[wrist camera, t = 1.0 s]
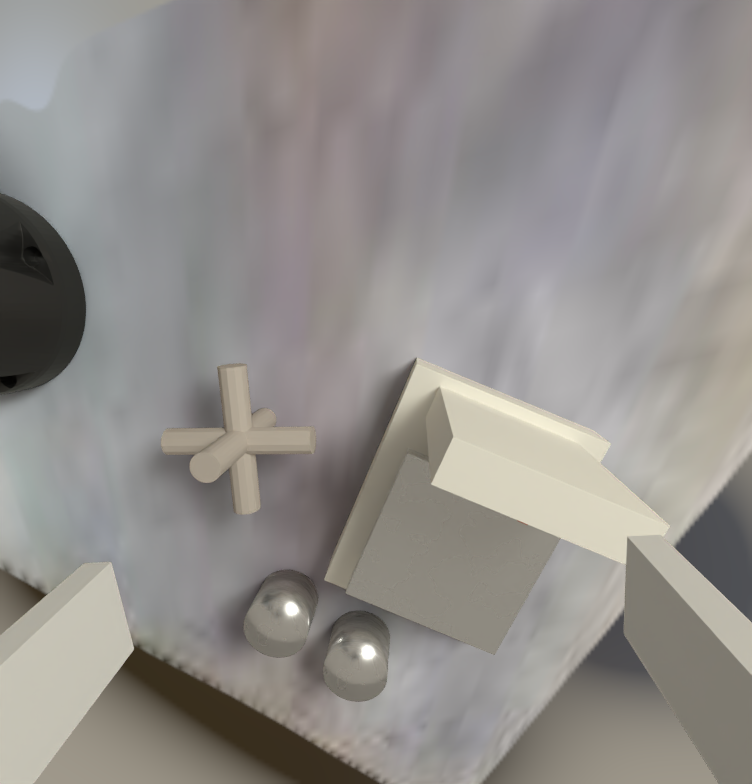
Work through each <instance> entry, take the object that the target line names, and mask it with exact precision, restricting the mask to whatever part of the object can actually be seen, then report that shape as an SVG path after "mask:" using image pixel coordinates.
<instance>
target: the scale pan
mask: <svg viewBox="0 0 752 784" xmlns="http://www.w3.org/2000/svg"><path fill="white" fill-rule="evenodd" d="M560 539H561V538H559V537H557V536H555V535H552V534H550V533H547V532H545V531H542V530H540V529H538V528H535V527H533V526H530V525H525V524H523V523H521V522H518V521H517V520H516V519H513V518H511V517H509V516H506V515H504V514H501V513H499V512H496V511H494V510H492V509H489V508H487V507H484V506H482V505H480V504H477V503H475V502H472V501H470V500H467V499H465V498H463V497H460V496H458V495H455V494H453V493H450V492H448V491H446V490H443V489H441V488H438V487H436V486H434V485H431V479H430V466H429V456H427V455H424V454H422V453H419V452H417V451H414V450H412V449H410V448H408V449H407V451H406V454H405V456H404V458H403V460H402V463H401V465H400V467H399V469H398V472H397V474H396V476H395V478H394V481H393V483H392V485H391V487H390V490H389V492H388V494H387V496H386V499H385V501H384V503H383V505H382V508H381V510H380V512H379V514H378V517H377V519H376V521H375V523H374V526H373V528H372V530H371V532H370V535H369V537H368V539H367V541H366V544H365V546H364V548H363V550H362V553H361V555H360V557H359V559H358V562H357V564H356V566H355V568H354V570H353V573H352V575H351V577H350V579H349V582H348V584H347V588H346V592H345V593H346V594H348V595H351V596H353V597H355V598H358V599H360V600H363V601H365V602H368V603H370V604H372V605H375V606H377V607H380V608H382V609H384V610H387V611H389V612H392V613H394V614H397V615H399V616H401V617H404V618H406V619H409V620H411V621H413V622H416V623H418V624H421V625H423V626H426V627H428V628H430V629H433V630H435V631H438V632H440V633H442V634H445V635H447V636H450V637H452V638H455V639H457V640H459V641H462V642H464V643H467V644H469V645H471V646H474V647H476V648H479V649H481V650H484V651H486V652H488V653H491V654H493V655H495V653H496V651H497V650H498V648H499V646H500V644H501V643H502V641H503V639H504V637H505V636H506V634H507V632H508V630H509V628H510V627H511V625H512V623H513V621H514V620H515V618H516V616H517V614H518V613H519V611H520V609H521V607H522V606H523V604H524V602H525V600H526V599H527V597H528V595H529V593H530V591H531V590H532V588H533V586H534V584H535V583H536V581H537V579H538V577H539V576H540V574H541V572H542V570H543V569H544V567H545V565H546V563H547V561H548V560H549V558H550V556H551V554H552V553H553V551H554V549H555V547H556V546H557V544H558V542H559V540H560Z"/></svg>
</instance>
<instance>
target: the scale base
mask: <svg viewBox="0 0 752 784" xmlns="http://www.w3.org/2000/svg"><path fill="white" fill-rule="evenodd" d="M610 445H611V443H609V442H608V441H607V440H605V439H604V438H603V437H601V436H600V435H599V434H597V433H596V432H595V431H593V430H591V429H589V428H586V427H584V426H581V425H579V424H577V423H574V422H572V421H569V420H567V419H564V418H562V417H560V416H557V415H555V414H552V413H550V412H547V411H545V410H543V409H540V408H538V407H535V406H533V405H531V404H528V403H526V402H523V401H521V400H518V399H516V398H514V397H511V396H509V395H506V394H504V393H501V392H499V391H497V390H494V389H492V388H489V387H487V386H484V385H482V384H480V383H477V382H475V381H472V380H470V379H468V378H465V377H463V376H460V375H458V374H455V373H453V372H451V371H448V370H446V369H443V368H441V367H438V366H436V365H434V364H431V363H429V362H426V361H424V360H421V359H419V358H416V361H415V363H414V365H413V368H412V370H411V372H410V375H409V377H408V379H407V382H406V384H405V386H404V389H403V391H402V393H401V396H400V398H399V400H398V403H397V405H396V408H395V410H394V412H393V415H392V417H391V419H390V422H389V424H388V426H387V429H386V431H385V433H384V436H383V438H382V440H381V443H380V445H379V447H378V450H377V452H376V454H375V457H374V459H373V461H372V464H371V466H370V468H369V471H368V473H367V475H366V478H365V480H364V482H363V485H362V487H361V489H360V492H359V494H358V496H357V499H356V501H355V503H354V506H353V508H352V510H351V513H350V515H349V517H348V520H347V522H346V524H345V527H344V529H343V531H342V534H341V536H340V538H339V541H338V543H337V546H336V548H335V550H334V553H333V555H332V557H331V560H330V563H329V566H328V569H327V573H326V576H325V579H324V580H325V581H327V582H330V583H332V584H335V585H337V586H339V587H342V588H344V589H346V588H347V584H348V582H349V579H350V577H351V575H352V573H353V570H354V568H355V566H356V564H357V562H358V559H359V557H360V555H361V553H362V550H363V548H364V546H365V544H366V541H367V539H368V537H369V535H370V532H371V530H372V528H373V526H374V523H375V521H376V519H377V517H378V514H379V512H380V510H381V508H382V505H383V503H384V501H385V499H386V496H387V494H388V492H389V490H390V487H391V485H392V483H393V481H394V478H395V476H396V474H397V472H398V469H399V467H400V465H401V463H402V460H403V458H404V456H405V454H406V451H407V449H408V448H410V449H412V450H414V451H417V452H419V453H422V454H424V455H427V456H429V466H430V479H431V485H434V486H436V487H438V488H441V489H443V490H446V491H448V492H450V493H453V494H455V495H458V496H460V497H463V498H465V499H467V500H470V501H472V502H475V503H477V504H480V505H482V506H484V507H487V508H489V509H492V510H494V511H496V512H499V513H501V514H504V515H506V516H509V517H511V518H513V519H516V520H517V521H518V522H521V523H523V524H525V525H530V526H533V527H535V528H538V529H540V530H542V531H545V532H547V533H550V534H552V535H555V536H557V537H559V538H562V539H564V540H567V541H569V542H571V543H574V544H576V545H579V546H581V547H584V548H586V549H588V550H591V551H593V552H596V553H598V554H601V555H603V556H605V557H608V558H610V559H613V560H615V561H617V562H620V563H622V564H625V565H626V554H627V536H645V535H661V536H662V537H664V535H665V533H666V532H667V530H668V529H669V527H670V525H668V524H667V523H666V522H665V521H664V520H663V519H662V518H661V517H660V516H658V515H657V514H656V513H655V512H654V511H653V510H652V509H651V508H650V507H648V506H647V505H646V504H645V503H644V502H643V501H642V500H641V499H640V498H638V497H637V496H636V495H635V494H634V493H633V492H632V491H631V490H630V489H628V488H627V487H626V486H625V485H624V484H623V483H622V482H621V481H620V480H618V479H617V478H616V477H615V476H614V475H613V474H612V473H611V472H610V471H608V470H607V469H606V468H605V467H604V466H603V465H602V464H601V461H602V459H603V457H604V456H605V454H606V452H607V450H608V448H609V447H610Z"/></svg>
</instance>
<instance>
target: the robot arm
mask: <svg viewBox="0 0 752 784" xmlns="http://www.w3.org/2000/svg"><path fill="white" fill-rule="evenodd" d="M85 316H86V303H85V294H84V288H83V283H82V279H81V276H80V273H79V270H78V267H77V265H76V263H75V260H74V258H73V256H72V254H71V252H70V250H69V249H68V247H67V245H66V244H65V242H64V241H63V239H62V238H61V237H60V235H59V234H58V233H57V232H56V230H55V229H54V228H53V227H52V226H51V225H50V224H49V223H48V222H47V221H46V220H45V219H44V218H43V217H42V216H41V215H39V214H38V213H37V212H36V211H34V210H33V209H32V208H30V207H29V206H27V205H25V204H24V203H22V202H20V201H18V200H16V199H14V198H12V197H9V196H7V195H4V194H1V193H0V395H3V394H8V393H13V392H17V391H21V390H25V389H30V388H33V387H36V386H39V385H41V384H44V383H46V382H48V381H49V380H51V379H52V378H54V377H55V376H57V375H58V374H59V373H60V372H61V371H62V370H63V369H64V368H65V367H66V366H67V365H68V363H69V362H70V361H71V359H72V358H73V356H74V354H75V353H76V351H77V349H78V346H79V344H80V341H81V338H82V335H83V331H84V326H85ZM624 635H625V636H626V638H627V640H628V641H629V643H630V644H631V646H632V648H633V649H634V651H635V652H636V654H637V655H638V657H639V659H640V660H641V662H642V663H643V665H644V667H645V668H646V670H647V671H648V673H649V674H650V676H651V678H652V679H653V680H654V682H655V684H656V685H657V687H658V689H659V690H660V692H661V693H662V695H663V697H664V698H665V700H666V701H667V703H668V704H669V706H670V708H671V709H672V711H673V712H674V714H675V715H676V717H677V719H678V720H679V722H680V723H681V725H682V726H683V728H684V730H685V731H686V733H687V734H688V736H689V737H690V739H691V741H692V742H693V744H694V745H695V747H696V749H697V750H698V752H699V753H700V755H701V756H702V758H703V760H704V761H705V763H706V764H707V766H708V767H709V769H710V770H711V772H712V774H713V775H714V777H715V778H716V780H717V782H718V783H719V784H752V622H751V621H750V620H748V619H747V618H746V617H745V616H744V615H743V614H742V613H741V612H740V611H739V610H738V609H737V608H736V607H735V606H734V605H733V604H732V603H731V602H730V601H729V600H728V599H727V598H726V597H724V595H722V593H720V592H719V591H718V590H717V589H716V588H715V587H714V586H713V585H712V584H711V583H710V582H709V581H708V580H707V579H706V578H705V577H704V576H703V575H702V574H701V573H700V572H699V571H698V570H697V569H696V568H695V567H694V566H692V565H691V564H690V563H689V562H688V561H687V560H686V559H685V558H684V557H683V556H682V555H681V554H680V553H679V552H678V551H677V550H676V549H675V548H674V547H673V546H672V545H671V544H670V543H669V542H668V541H667V540H665V539H664V538H663V537H662V536H661V535H645V536H627V554H626V581H625V608H624ZM133 650H134V647H133V643H132V639H131V636H130V632H129V628H128V624H127V620H126V616H125V613H124V609H123V605H122V601H121V597H120V593H119V590H118V586H117V582H116V578H115V574H114V570H113V567H112V563H111V562H99V563H84V564H83V565H81V566H80V567H79V568H78V569H77V570H76V571H75V572H73V573H72V574H71V575H70V576H69V577H68V578H66V579H65V580H64V581H63V582H62V583H61V584H59V585H58V586H57V587H56V588H55V589H54V590H52V591H51V592H50V593H49V594H48V595H47V596H45V597H44V598H43V599H42V600H41V601H40V602H39V603H37V604H36V605H35V606H34V607H33V608H32V609H30V610H29V611H28V612H27V613H26V614H25V615H23V616H22V617H21V618H20V619H19V620H18V621H17V622H15V623H14V624H13V625H12V626H11V627H10V628H8V629H7V630H6V631H5V632H4V633H3V634H1V635H0V784H34V782H35V781H36V780H37V778H38V777H39V776H40V774H41V773H42V772H43V770H44V769H45V768H46V766H47V765H48V764H49V762H50V761H51V760H52V758H53V757H54V756H55V754H56V753H57V751H58V750H59V749H60V748H61V746H62V745H63V743H64V742H65V741H66V740H67V738H68V737H69V736H70V734H71V733H72V732H73V730H74V729H75V728H76V726H77V725H78V723H79V722H80V721H81V720H82V718H83V717H84V716H85V714H86V713H87V712H88V710H89V709H90V707H91V706H92V705H93V703H94V702H95V701H96V699H97V698H98V697H99V695H100V694H101V693H102V691H103V690H104V689H105V687H106V686H107V685H108V683H109V682H110V681H111V679H112V678H113V677H114V675H115V674H116V673H117V671H118V670H119V669H120V667H121V666H122V665H123V663H124V662H125V661H126V659H127V658H128V657H129V655H130V654H131V653H132V651H133Z"/></svg>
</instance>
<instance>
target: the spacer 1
mask: <svg viewBox="0 0 752 784" xmlns="http://www.w3.org/2000/svg"><path fill="white" fill-rule="evenodd" d="M317 604H318V592H317V589H316V587H315V585H314V583H313V582H312V581H311V580H310V579H309V578H308V577H307V576H305V575H304V574H302V573H300V572H297V571H294V570H279V571H276V572H274V573H272V574H270V575H269V576H268V577H267V578H266V579H265V581H264V582H263V584H262V586H261V588H260V590H259V592H258V594H257V595H256V597H255V599H254V601H253V603H252V605H251V607H250V609H249V610H248V612H247V614H246V616H245V619H244V624H243V628H244V633H245V636H246V638H247V640H248V642H249V643H250V644H251V645H252V646H253V647H254V648H255V649H256V650H257V651H259V652H260V653H262V654H264V655H267V656H270V657H276V658H282V657H288V656H291V655H293V654H295V653H297V652H298V651H299V650H300V649H301V648H302V647H303V646H304V644H305V642H306V639H307V635H308V632H309V629H310V626H311V623H312V620H313V617H314V614H315V611H316V607H317Z"/></svg>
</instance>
